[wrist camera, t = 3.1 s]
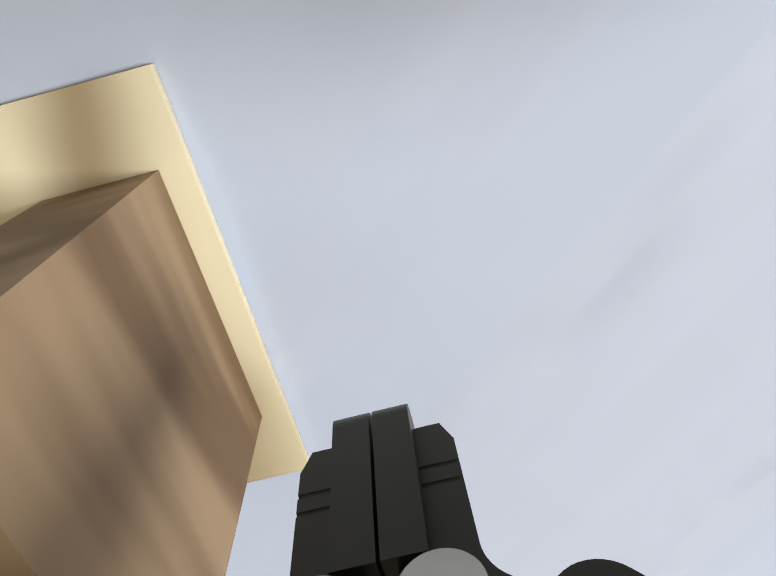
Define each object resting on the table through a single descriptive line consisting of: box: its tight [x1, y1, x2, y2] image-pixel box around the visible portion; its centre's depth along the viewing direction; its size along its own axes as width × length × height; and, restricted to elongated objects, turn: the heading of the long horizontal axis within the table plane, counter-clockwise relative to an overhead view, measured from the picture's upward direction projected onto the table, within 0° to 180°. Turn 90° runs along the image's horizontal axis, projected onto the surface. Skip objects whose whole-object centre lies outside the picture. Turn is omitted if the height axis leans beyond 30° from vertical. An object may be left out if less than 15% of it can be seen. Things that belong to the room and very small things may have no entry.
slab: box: [0, 170, 262, 576], centre depth 16 cm, size 4×10×12 cm, turn 14°
